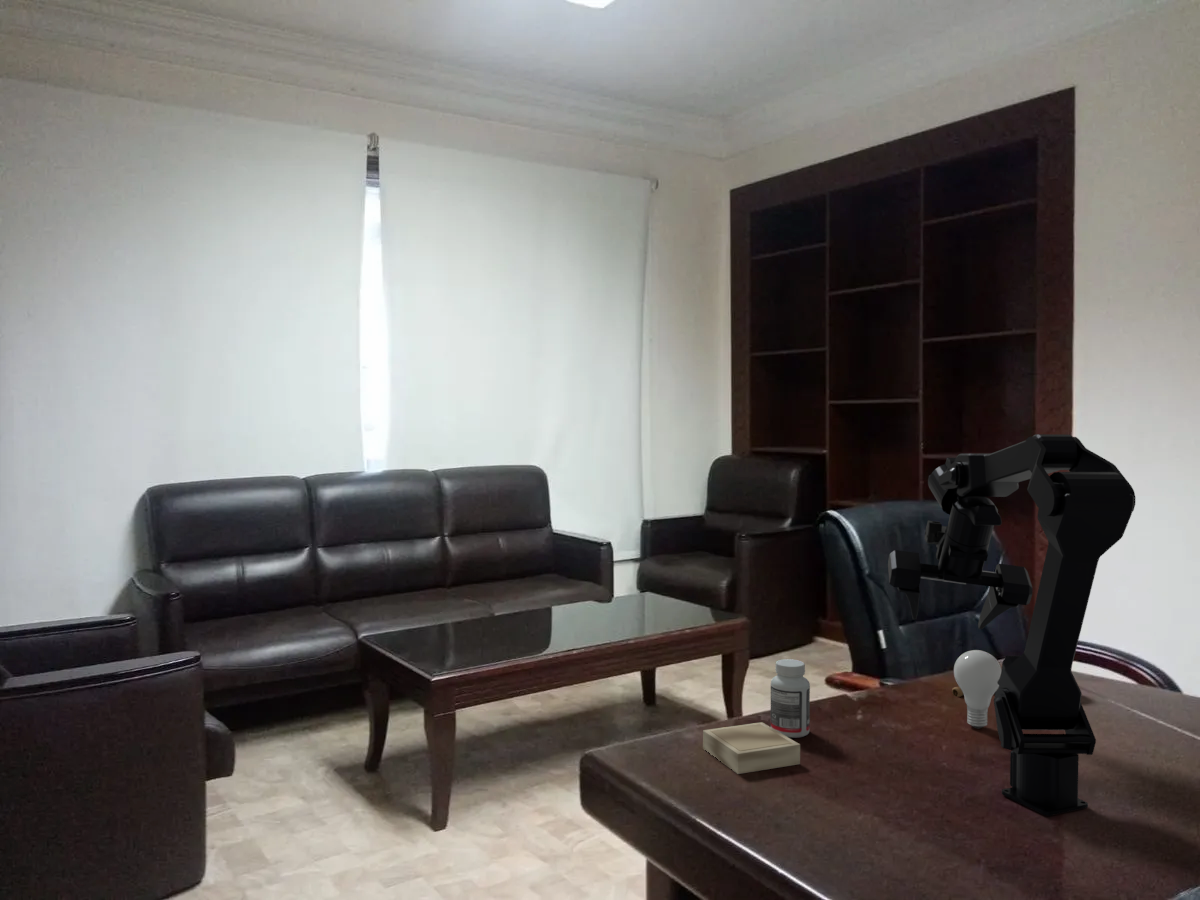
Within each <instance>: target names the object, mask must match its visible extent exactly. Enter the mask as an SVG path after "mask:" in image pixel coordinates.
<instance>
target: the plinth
mask: <svg viewBox="0 0 1200 900" xmlns="http://www.w3.org/2000/svg"><path fill="white" fill-rule="evenodd" d="M702 750H704V751H705V750H706V751H707V752H706V751H705V752H706V753H708V752H709V753H710V754H709V753H708V754H709V755H711V756H712V755H713V756H714V757H713V756H712V757H713V758H715V757H716V758H717V759H718V760H717V759H716V758H715V759H716V760H717V761H719V762H720V761H721V762H720V763H722V764H723V765H725V767H727V768H728V769H730V770H731V769H732V770H731V771H733V772H734V773H735V774H737V775H740V774H746V773H753V772H759V771H766V770H770V769H771V770H772V769H777V768H783V767H791V766H795V765H801V744H800V743H798V742H797V741H795V740H793V738H790V737H786V736H785V735H783V734H781V733H780V732H778V731H776V730H774V729H773V728H771V726H769V725H768V724H766V723H764V722H762V721H761V722H754V723H746V724H739V725H732V726H731V725H730V726H725V727H723V726H722V727H718V728H710V729H709V728H708V729H703V730H702Z"/></svg>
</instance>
